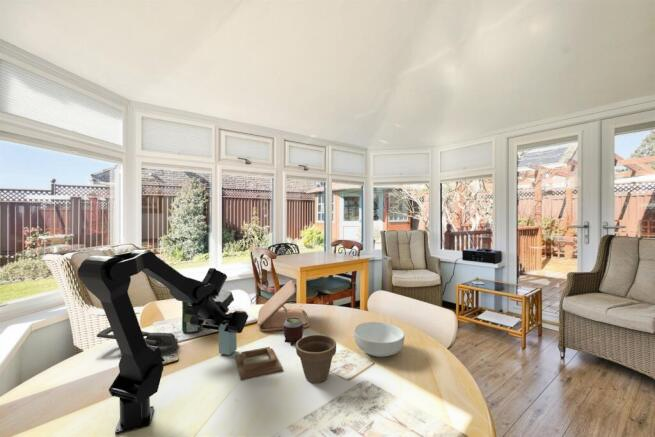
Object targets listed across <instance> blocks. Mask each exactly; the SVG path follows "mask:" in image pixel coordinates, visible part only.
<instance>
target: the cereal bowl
mask: <svg viewBox="0 0 655 437" xmlns="http://www.w3.org/2000/svg"><path fill="white" fill-rule="evenodd" d="M353 337H354V342H355V344H356V346H357V347H358V348H359V349H360V350H361V351H363V352H364V353H366V354H369V355H370V356H373V357H378V358H384V357H388V356H393V355H395V354H397V353H399V352H400V351H401V349H402V348H403V345H404V342H405V331H404V330H403V329H402V328H400V327H398V326H397V325H394V324H391V323H388V322H382V321H368V322H362V323H359V324H357V325H356V326H355V327H354V329H353Z"/></svg>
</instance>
